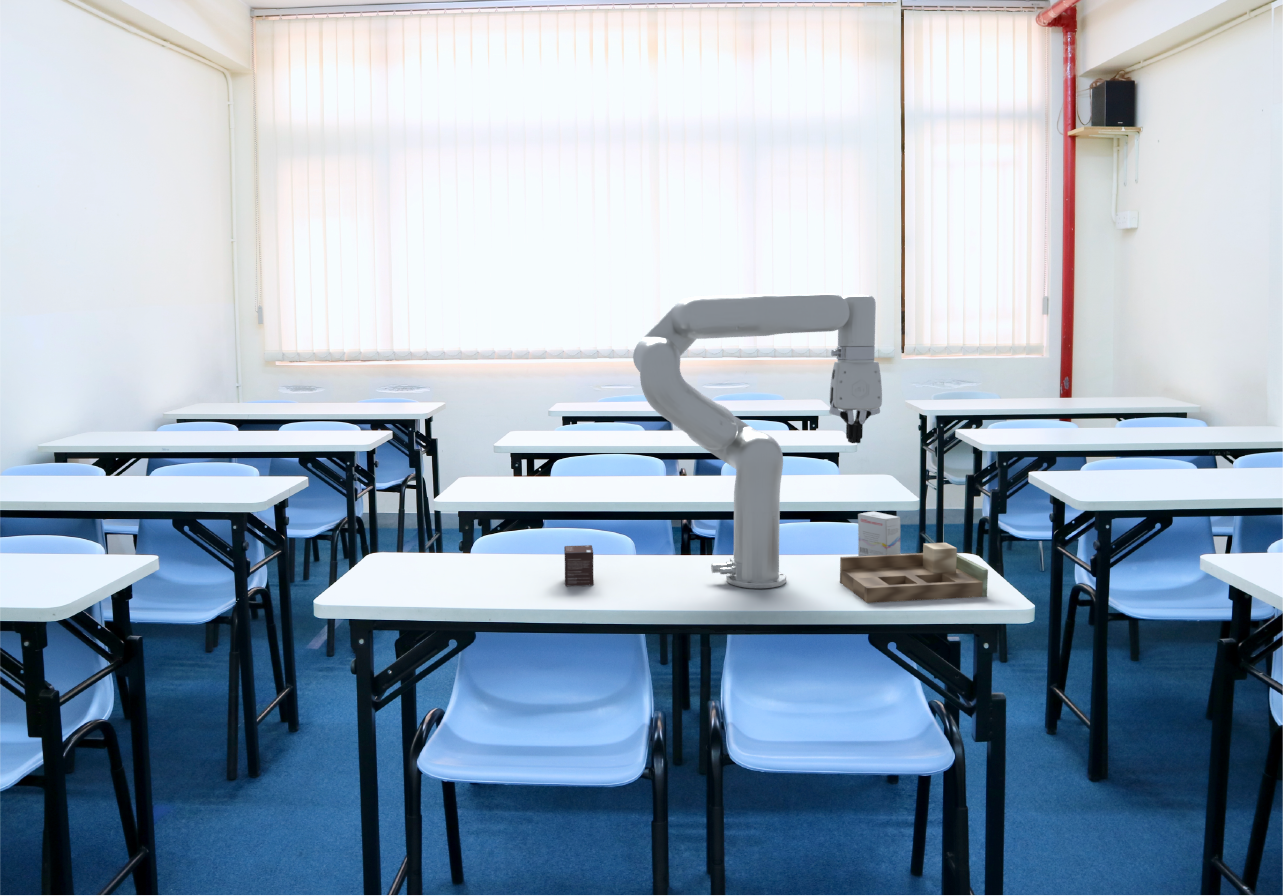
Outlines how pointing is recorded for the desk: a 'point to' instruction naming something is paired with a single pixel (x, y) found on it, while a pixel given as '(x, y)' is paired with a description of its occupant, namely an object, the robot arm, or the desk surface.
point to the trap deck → (910, 578)
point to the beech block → (939, 557)
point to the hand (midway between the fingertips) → (854, 442)
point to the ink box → (878, 534)
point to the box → (578, 565)
